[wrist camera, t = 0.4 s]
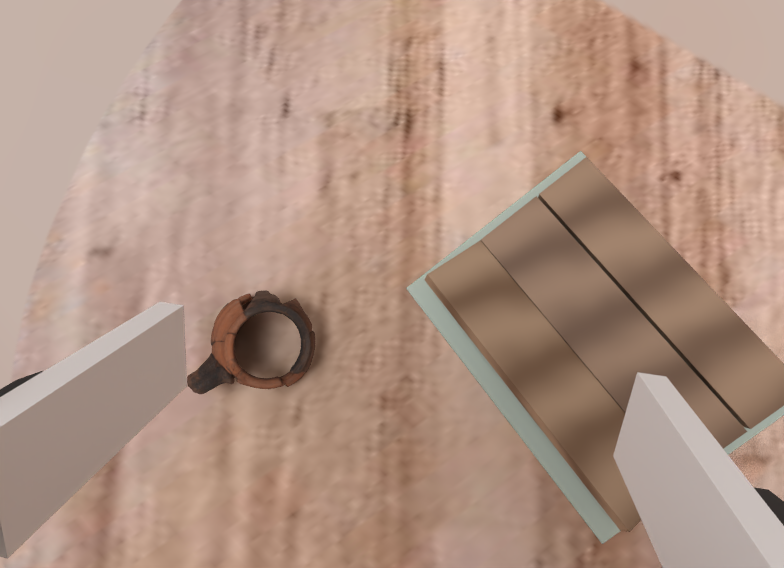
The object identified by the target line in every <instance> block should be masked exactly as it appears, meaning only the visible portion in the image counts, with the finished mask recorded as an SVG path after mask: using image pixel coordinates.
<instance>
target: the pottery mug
mask: <svg viewBox="0 0 784 568" xmlns="http://www.w3.org/2000/svg"><path fill="white" fill-rule="evenodd" d="M249 301H251V303H250V304H249V305H248V307H247V308H246V310H244V309H243V307H242V306H243V305H244V304H245V303H247V302H249ZM263 312H276V313H280V314H283V315H285V316H287V317H288V318H290V319H291V320H292V321H293V322H294V323H295V325H296V326H297V328H298V330H299V333H300V337H301V350H300V354H299V357H298V359H297V361H296V362H295V364H294V365H293V366H292V368H291V370H290V372H288V373H287V374H286V375H284V376H282V377H274V378H258V377H255V376H252V375H250V374H248V373H247V372H246V371H245V370H243V369H242V368H241V367H240V365H239V364H238V362H237V360H236V357H235V353H234V342H235V337H236V334H237V333H238V331H239V329H240V327H241V326H242V325H243V324H244V323H245V322H246V321H247V320H248V319H249V318H250V317H252V316H254V315H256V314H259V313H263ZM211 345H212V353H211V355H210V356H209V358H208V359H207V360H206V361H205V362H204V363H203V364H202V365H201V366H200V367H199V368H198V370H196V371H195V372H193V373H192V374H190V375H188V377H187V383H188V386H189V387H190V388H191V389H192V391H193V392H195V393H198V394H204V393H206V392H208V391H209V390H211V389H213V388H215V387H217V386H218V385H220V384H223V383H230V384H233V383H234V378H235V377H237V382H238V383H240V384H243V385H246V386H250V387H254V388H260V389H271V388H277V387H281V386H284V385H285V384H286V386H287V387H288V386H290V385H292V384H294V383H295V382H296V381H298V380H299V379H300V378H301V377H302V376H303V375H304V373H305V372H307V370H308V369H309V367H310V365H311V362H312V358H313V355H314V350H315V333H314V332H313V331H312V323H311V321H310V319H309V318H308V317H307V315H306V314H305V312H304V311H303V309H302V307H301V306H300V304H299V302H298V301H297V300H296V299H293V300H291V301H289V302H287V303H285V304H281V303H280V300H279V298H277V297H276V296H275V295H272V294H270V293H269V292H268V291H258V292H256V295H255V297H254V298H253V299H252V297H251V295H250V294H246V295H243V296H241V297H239V298H238V299H235V300H233V301H231V302H230V303H228V304H227V305H226V306H225V307H224V308H223V309H222V310H221V311H220V313H219V314H218V316H217V318H216V320H215V323H214V327H213V331H212V335H211Z"/></svg>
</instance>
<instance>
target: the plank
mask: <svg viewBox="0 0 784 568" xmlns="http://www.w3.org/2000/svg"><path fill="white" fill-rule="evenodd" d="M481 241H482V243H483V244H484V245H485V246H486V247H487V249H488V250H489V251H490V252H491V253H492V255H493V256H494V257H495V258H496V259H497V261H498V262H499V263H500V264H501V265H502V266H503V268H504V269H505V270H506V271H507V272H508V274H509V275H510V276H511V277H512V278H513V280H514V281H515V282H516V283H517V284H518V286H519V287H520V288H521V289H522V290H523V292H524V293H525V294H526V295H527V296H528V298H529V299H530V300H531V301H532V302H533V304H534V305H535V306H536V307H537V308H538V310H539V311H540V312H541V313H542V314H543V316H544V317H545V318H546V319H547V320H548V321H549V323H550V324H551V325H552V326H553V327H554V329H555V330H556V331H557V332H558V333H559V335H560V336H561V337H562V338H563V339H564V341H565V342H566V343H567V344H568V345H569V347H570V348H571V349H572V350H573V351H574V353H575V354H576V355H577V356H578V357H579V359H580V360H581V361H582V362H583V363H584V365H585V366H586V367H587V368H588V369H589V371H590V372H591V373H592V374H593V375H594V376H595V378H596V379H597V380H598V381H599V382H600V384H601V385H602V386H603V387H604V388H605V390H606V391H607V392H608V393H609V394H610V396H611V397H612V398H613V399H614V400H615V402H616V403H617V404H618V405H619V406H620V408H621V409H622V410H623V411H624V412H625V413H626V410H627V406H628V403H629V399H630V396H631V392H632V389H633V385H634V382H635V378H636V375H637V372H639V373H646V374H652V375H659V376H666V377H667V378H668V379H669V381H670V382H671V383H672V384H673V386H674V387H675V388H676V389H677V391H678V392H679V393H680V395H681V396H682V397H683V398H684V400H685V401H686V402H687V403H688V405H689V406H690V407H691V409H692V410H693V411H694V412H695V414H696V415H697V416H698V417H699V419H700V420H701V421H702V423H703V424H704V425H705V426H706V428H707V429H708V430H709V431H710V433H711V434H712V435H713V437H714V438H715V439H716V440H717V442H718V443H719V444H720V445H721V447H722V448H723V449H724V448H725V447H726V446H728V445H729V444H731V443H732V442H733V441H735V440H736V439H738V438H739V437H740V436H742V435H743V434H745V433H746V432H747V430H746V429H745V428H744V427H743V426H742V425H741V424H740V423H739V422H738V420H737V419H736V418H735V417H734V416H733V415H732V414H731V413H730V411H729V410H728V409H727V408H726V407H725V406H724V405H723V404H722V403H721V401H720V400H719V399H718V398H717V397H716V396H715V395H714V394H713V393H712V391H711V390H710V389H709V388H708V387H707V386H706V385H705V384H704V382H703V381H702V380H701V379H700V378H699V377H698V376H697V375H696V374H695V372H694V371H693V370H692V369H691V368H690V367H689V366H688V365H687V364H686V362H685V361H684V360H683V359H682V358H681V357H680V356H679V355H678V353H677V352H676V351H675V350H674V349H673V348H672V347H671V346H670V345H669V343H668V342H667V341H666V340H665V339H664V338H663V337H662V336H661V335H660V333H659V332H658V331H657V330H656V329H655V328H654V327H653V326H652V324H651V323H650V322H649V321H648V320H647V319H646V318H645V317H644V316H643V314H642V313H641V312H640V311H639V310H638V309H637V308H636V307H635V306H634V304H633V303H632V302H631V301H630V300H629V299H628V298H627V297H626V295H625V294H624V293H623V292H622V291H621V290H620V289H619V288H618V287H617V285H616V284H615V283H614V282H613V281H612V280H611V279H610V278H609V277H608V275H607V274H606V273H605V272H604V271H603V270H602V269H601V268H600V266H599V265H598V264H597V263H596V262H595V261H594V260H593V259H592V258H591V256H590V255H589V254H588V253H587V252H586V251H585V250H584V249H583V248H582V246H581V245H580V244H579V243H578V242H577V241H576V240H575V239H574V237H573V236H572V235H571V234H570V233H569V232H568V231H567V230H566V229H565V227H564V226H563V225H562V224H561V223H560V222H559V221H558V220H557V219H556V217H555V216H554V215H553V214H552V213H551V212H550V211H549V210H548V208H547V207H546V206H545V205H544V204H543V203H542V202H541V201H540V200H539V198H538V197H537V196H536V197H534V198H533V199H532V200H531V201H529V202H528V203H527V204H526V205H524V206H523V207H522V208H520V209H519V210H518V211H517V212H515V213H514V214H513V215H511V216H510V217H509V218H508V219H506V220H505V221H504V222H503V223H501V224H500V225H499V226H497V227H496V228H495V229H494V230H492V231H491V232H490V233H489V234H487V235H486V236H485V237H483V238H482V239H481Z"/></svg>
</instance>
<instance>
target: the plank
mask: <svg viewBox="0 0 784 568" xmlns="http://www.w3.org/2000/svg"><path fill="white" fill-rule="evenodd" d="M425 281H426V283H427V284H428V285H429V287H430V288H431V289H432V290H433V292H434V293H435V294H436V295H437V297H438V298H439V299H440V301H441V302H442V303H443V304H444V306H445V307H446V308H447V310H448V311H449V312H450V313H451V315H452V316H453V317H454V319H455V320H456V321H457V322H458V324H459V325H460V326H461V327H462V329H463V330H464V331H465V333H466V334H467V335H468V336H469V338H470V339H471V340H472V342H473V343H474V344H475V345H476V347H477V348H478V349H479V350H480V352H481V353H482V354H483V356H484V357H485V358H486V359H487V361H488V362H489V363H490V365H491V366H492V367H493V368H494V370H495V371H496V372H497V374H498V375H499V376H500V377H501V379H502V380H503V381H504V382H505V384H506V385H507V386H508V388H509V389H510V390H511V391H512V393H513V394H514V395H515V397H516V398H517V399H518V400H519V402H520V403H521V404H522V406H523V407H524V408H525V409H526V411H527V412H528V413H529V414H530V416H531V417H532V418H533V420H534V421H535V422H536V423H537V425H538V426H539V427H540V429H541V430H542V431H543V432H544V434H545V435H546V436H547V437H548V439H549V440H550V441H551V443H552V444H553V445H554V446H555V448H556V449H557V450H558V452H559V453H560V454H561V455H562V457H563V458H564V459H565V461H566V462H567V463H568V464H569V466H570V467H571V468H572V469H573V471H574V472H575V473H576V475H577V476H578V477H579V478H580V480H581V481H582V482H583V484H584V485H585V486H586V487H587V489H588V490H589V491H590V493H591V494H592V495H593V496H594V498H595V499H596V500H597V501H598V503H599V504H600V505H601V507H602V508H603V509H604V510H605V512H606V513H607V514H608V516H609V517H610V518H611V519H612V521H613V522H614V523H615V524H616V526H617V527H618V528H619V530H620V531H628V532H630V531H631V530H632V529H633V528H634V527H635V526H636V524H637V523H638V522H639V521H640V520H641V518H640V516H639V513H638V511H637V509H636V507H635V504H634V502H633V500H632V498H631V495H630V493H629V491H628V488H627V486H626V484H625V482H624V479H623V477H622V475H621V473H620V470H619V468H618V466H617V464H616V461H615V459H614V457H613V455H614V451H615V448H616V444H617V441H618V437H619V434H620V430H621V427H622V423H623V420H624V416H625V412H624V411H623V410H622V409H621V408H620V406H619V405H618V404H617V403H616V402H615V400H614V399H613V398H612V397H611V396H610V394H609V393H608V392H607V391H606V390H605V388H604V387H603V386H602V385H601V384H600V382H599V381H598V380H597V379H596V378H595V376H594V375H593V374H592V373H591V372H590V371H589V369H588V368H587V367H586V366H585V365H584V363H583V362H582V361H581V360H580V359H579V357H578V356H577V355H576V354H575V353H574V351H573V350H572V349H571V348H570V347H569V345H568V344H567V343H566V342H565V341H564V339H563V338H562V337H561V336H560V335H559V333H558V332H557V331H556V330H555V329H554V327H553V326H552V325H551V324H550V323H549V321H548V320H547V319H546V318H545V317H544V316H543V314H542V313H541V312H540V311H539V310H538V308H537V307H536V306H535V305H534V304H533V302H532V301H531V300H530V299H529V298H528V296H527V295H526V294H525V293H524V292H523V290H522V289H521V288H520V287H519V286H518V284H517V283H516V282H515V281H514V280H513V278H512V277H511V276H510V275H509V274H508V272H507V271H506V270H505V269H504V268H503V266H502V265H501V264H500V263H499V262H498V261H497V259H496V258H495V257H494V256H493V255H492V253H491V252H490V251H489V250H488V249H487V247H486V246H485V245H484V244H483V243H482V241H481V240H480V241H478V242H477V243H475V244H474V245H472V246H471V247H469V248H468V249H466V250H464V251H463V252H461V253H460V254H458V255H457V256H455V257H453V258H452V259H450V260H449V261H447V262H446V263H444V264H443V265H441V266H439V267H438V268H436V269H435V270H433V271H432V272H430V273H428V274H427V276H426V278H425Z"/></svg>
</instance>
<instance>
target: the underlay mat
mask: <svg viewBox="0 0 784 568" xmlns="http://www.w3.org/2000/svg"><path fill="white" fill-rule="evenodd" d="M585 157H586V156H585V155H584V154H583V153H582V152H581V151H580V152H579V153H577V154H576V155H575V156H574V157H572V158H571V159H570V160H569V161H567V162H566V163H565V164H563V165H562V166H561V167H560V168H558V169H557V170H556V171H555V172H553V173H552V174H551V175H549V176H548V177H547V178H546V179H544V180H543V181H542V182H541V183H539V184H538V185H537V186H535V187H534V188H533V189H532V190H530V191H529V192H528V193H527V194H525V195H524V196H523V197H522V198H520V199H519V200H518V201H516V202H515V203H514V204H513V205H511V206H510V207H509V208H508V209H506V210H505V211H504V212H502V213H501V214H500V215H499V216H497V217H496V218H495V219H494V220H492V221H491V222H490V223H488V224H487V225H486V226H485V227H483V228H482V229H481V230H480V231H478V232H477V233H476V234H475V235H473V236H472V237H471V238H469V239H468V240H467V241H466V242H464V243H463V244H462V245H461V246H459V247H458V248H457V249H455V250H454V251H453V252H452V253H450V254H449V255H448V256H447V257H445V258H444V259H443V260H441V261H440V262H439V263H438V264H436V265H435V266H434V267H433V268H431V269H430V270H429V271H427V272H426V273H425V274H424V275H422V276H421V277H420V278H419V279H417V280H416V281H415V282H414V283H412V284H411V285H410V286H408V287H407V288H406V289H407V290H408V291H409V293H410V294H411V295H412V296H413V298H414V299H415V300H416V302H417V303H418V304H419V306H420V307H421V308H422V310H423V311H424V312H425V313H426V315H427V316H428V317H429V319H430V320H431V321H432V323H433V324H434V325H435V326H436V328H437V329H438V330H439V332H440V333H441V334H442V336H443V337H444V338H445V340H446V341H447V342H448V343H449V345H450V346H451V347H452V349H453V350H454V351H455V353H456V354H457V355H458V356H459V358H460V359H461V360H462V362H463V363H464V364H465V366H466V367H467V368H468V370H469V371H470V372H471V373H472V375H473V376H474V377H475V379H476V380H477V381H478V383H479V384H480V385H481V386H482V388H483V389H484V390H485V392H486V393H487V394H488V396H489V397H490V398H491V400H492V401H493V402H494V403H495V405H496V406H497V407H498V409H499V410H500V411H501V413H502V414H503V415H504V416H505V418H506V419H507V420H508V422H509V423H510V424H511V426H512V427H513V428H514V430H515V431H516V432H517V433H518V435H519V436H520V437H521V439H522V440H523V441H524V443H525V444H526V445H527V446H528V448H529V449H530V450H531V452H532V453H533V454H534V456H535V457H536V458H537V460H538V461H539V462H540V463H541V465H542V466H543V467H544V469H545V470H546V471H547V473H548V474H549V475H550V477H551V478H552V479H553V480H554V482H555V483H556V484H557V486H558V487H559V488H560V490H561V491H562V492H563V493H564V495H565V496H566V497H567V499H568V500H569V501H570V503H571V504H572V505H573V507H574V508H575V509H576V510H577V512H578V513H579V514H580V516H581V517H582V518H583V520H584V521H585V522H586V523H587V525H588V526H589V527H590V529H591V530H592V531H593V533H594V534H595V535H596V537H597V538H598V539H599V540H600V542H601V543H602V544H603V543H605V542H606V541H607V540H609V539H610V538H612V537H613V536H614V535H616V534H617V533H619V532H620V530H619V528H618V527H617V526H616V524H615V523H614V522H613V521H612V519H611V518H610V517H609V516H608V514H607V513H606V512H605V510H604V509H603V508H602V507H601V505H600V504H599V503H598V501H597V500H596V499H595V498H594V496H593V495H592V494H591V493H590V491H589V490H588V489H587V487H586V486H585V485H584V484H583V482H582V481H581V480H580V478H579V477H578V476H577V475H576V473H575V472H574V471H573V469H572V468H571V467H570V466H569V464H568V463H567V462H566V461H565V459H564V458H563V457H562V455H561V454H560V453H559V452H558V450H557V449H556V448H555V446H554V445H553V444H552V443H551V441H550V440H549V439H548V437H547V436H546V435H545V434H544V432H543V431H542V430H541V429H540V427H539V426H538V425H537V423H536V422H535V421H534V420H533V418H532V417H531V416H530V414H529V413H528V412H527V411H526V409H525V408H524V407H523V406H522V404H521V403H520V402H519V400H518V399H517V398H516V397H515V395H514V394H513V393H512V391H511V390H510V389H509V388H508V386H507V385H506V384H505V382H504V381H503V380H502V379H501V377H500V376H499V375H498V374H497V372H496V371H495V370H494V368H493V367H492V366H491V365H490V363H489V362H488V361H487V359H486V358H485V357H484V356H483V354H482V353H481V352H480V350H479V349H478V348H477V347H476V345H475V344H474V343H473V342H472V340H471V339H470V338H469V336H468V335H467V334H466V333H465V331H464V330H463V329H462V327H461V326H460V325H459V324H458V322H457V321H456V320H455V319H454V317H453V316H452V315H451V313H450V312H449V311H448V310H447V308H446V307H445V306H444V304H443V303H442V302H441V301H440V299H439V298H438V297H437V295H436V294H435V293H434V292H433V290H432V289H431V288H430V287H429V285H428V284H427V283H426V281H425V278H426V276H427V274H428V273H430V272H432V271H433V270H435V269H436V268H438V267H439V266H441V265H443V264H444V263H446V262H447V261H449V260H450V259H452V258H453V257H455V256H457V255H458V254H460V253H461V252H463V251H464V250H466V249H468V248H469V247H471V246H472V245H474V244H475V243H477V242H478V241H480V240H481V239H482V238H483V237H485V236H486V235H487V234H489V233H490V232H491V231H492V230H494V229H495V228H496V227H497V226H499V225H500V224H501V223H503V222H504V221H505V220H506V219H508V218H509V217H510V216H511V215H513V214H514V213H515V212H517V211H518V210H519V209H520V208H522V207H523V206H524V205H526V204H527V203H528V202H529V201H531V200H532V199H533V198H534V197H536V196H537V197H538V196H539V194H540V193H541V192H542V191H543V190H545V189H546V188H547V187H548V186H550V185H551V184H552V183H554V182H555V181H556V180H557V179H559V178H560V177H561V176H562V175H564V174H565V173H566V172H568V171H569V170H570V169H571V168H573V167H574V166H575V165H576V164H578V163H579V162H580V161H582V160H583V159H584V158H585ZM783 415H784V406H783V407H781V408H780V409H778V410H777V411H776V412H774V413H773V414H771V415H770V416H769V417H767V418H766V419H764V420H763V421H762V422H760V423H759V424H757V425H756V426H755V427H753V428H752V429H749V428H745V427H744V428H745V429H746V430H747V432H746V433H745V434H743V435H742V436H740V437H739V438H738V439H736V440H735V441H733V442H732V443H731V444H729V445H728V446H726V447H725V448H724V451H725V452H726V453H727V454H730V453H731V452H733V451H734V450H735V449H737V448H738V447H740V446H741V445H743V444H744V443H745V442H747V441H748V440H750V439H751V438H752V437H754V436H755V435H757V434H758V433H759V432H761V431H762V430H764V429H765V428H766V427H768V426H769V425H771V424H772V423H773V422H775V421H776V420H778V419H779V418H781V417H782V416H783Z"/></svg>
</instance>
